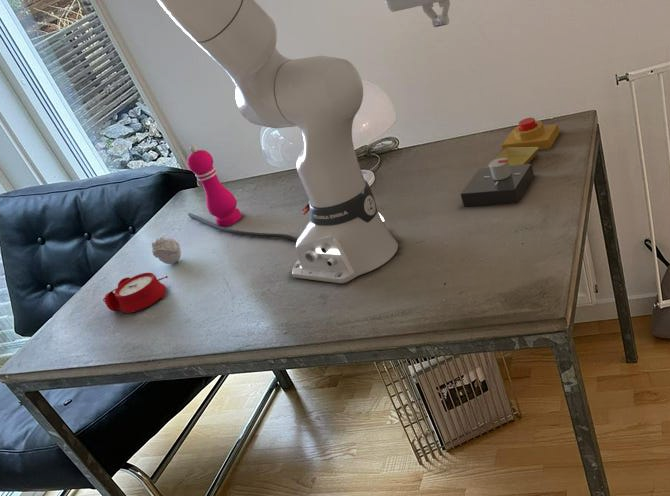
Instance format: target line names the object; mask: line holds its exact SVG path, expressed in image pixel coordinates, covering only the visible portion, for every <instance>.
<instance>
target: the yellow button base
mask: <svg viewBox="0 0 670 496" xmlns="http://www.w3.org/2000/svg"><path fill="white" fill-rule="evenodd" d="M535 123H536V127H535V128H533V129H531V130H528V131H521V130H520V126H519V125H516V127H514V129H512V130H511V132H510V133H509V135H508V136H507V137H506V138H505V140H504V141H503V143H502V144H501V147H502V151H503V150H504V149H506V148H512V147H539V149H538V151H542V150H550V148H552V146H553V145H554V143H555V141H556V140H557V138H558V136H559V135H560V129H559V124H558V123H557V124H549V125H544V123H543V122H542V121H541V120H538V119H537V120H536V119H535Z"/></svg>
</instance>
